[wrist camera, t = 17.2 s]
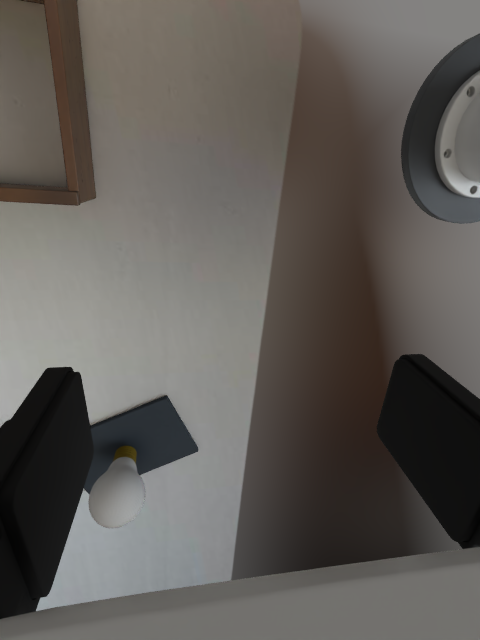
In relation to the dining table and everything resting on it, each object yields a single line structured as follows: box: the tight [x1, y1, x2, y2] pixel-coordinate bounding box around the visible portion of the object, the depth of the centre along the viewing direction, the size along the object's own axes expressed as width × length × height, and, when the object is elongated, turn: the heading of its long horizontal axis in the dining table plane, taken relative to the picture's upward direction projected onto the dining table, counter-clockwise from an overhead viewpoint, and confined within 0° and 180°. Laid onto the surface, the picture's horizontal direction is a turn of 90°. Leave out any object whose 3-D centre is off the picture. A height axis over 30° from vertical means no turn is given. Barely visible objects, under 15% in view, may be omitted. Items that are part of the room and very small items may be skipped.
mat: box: [84, 396, 198, 494], centre depth 43 cm, size 16×10×1 cm, turn 110°
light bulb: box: [89, 446, 145, 528], centre depth 39 cm, size 6×6×10 cm
